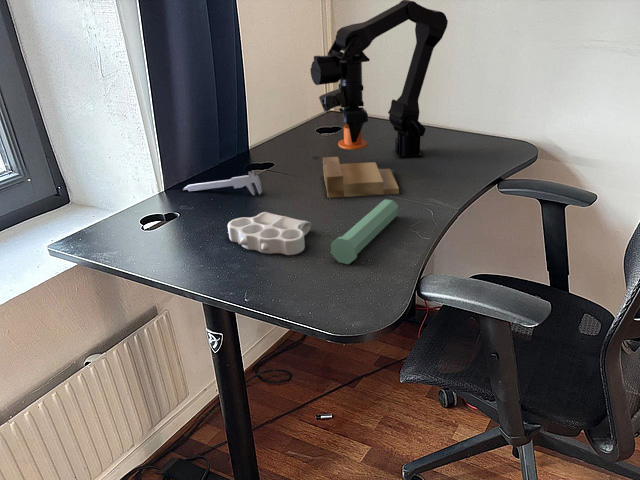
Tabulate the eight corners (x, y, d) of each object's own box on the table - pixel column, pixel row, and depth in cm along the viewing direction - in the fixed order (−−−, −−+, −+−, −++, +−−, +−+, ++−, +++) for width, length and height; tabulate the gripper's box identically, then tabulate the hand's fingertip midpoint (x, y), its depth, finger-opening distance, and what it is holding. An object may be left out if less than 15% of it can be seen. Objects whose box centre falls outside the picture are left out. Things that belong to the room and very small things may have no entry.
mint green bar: (385, 190, 141) (335, 232, 122) (406, 203, 141) (360, 247, 121) (376, 210, 145) (326, 254, 125) (397, 223, 144) (350, 269, 125)
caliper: (262, 194, 154) (259, 170, 151) (261, 195, 153) (258, 172, 150) (184, 189, 156) (180, 165, 152) (182, 191, 155) (178, 167, 151)
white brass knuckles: (324, 234, 135) (287, 263, 124) (256, 218, 142) (215, 245, 130) (323, 220, 134) (286, 248, 122) (254, 205, 140) (213, 231, 128)
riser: (390, 173, 167) (390, 154, 164) (399, 193, 155) (399, 173, 152) (323, 177, 164) (322, 157, 161) (327, 197, 152) (326, 176, 149)
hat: (365, 139, 173) (365, 121, 170) (369, 148, 166) (369, 130, 163) (337, 140, 171) (336, 122, 169) (339, 150, 165) (339, 131, 162)
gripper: (317, 73, 166) (320, 130, 174) (322, 90, 151) (326, 151, 159) (358, 72, 168) (359, 128, 176) (367, 89, 152) (368, 150, 161)
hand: (352, 139), depth 168 cm, fingers closed on hat, 5 cm apart
